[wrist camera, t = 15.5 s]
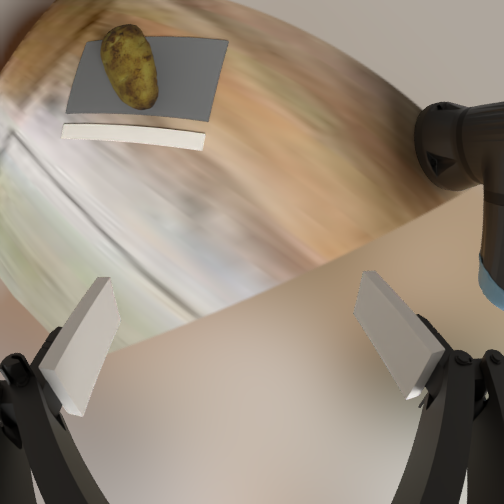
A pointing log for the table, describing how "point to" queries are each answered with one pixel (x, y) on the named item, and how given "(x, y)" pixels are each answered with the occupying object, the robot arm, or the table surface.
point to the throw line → (135, 135)
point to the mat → (168, 77)
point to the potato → (130, 66)
